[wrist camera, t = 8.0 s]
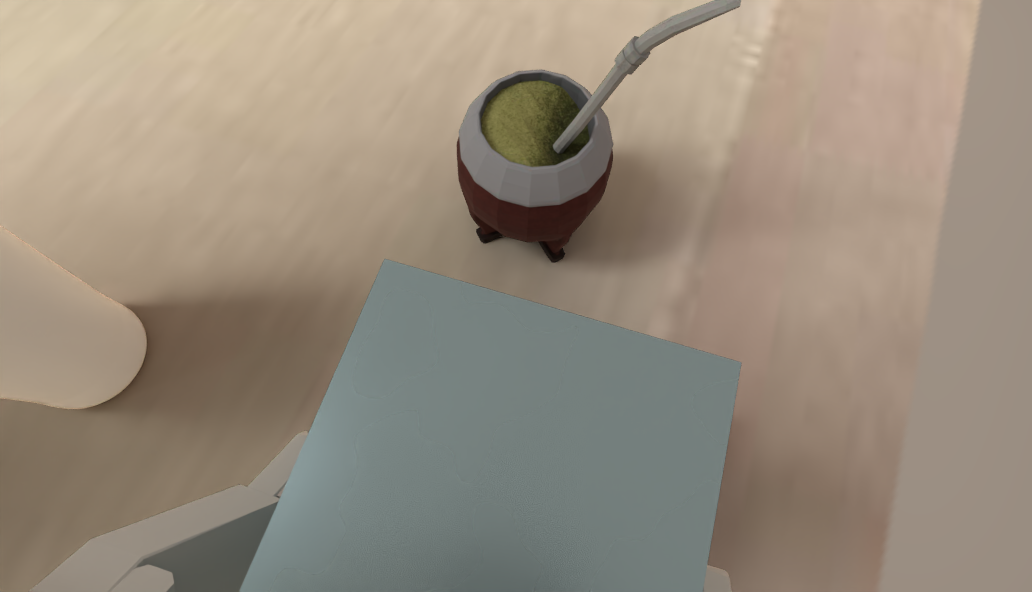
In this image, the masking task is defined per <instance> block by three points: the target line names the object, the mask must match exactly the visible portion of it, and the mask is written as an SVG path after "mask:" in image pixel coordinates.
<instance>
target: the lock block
mask: <svg viewBox="0 0 1032 592" xmlns="http://www.w3.org/2000/svg"><path fill="white" fill-rule="evenodd" d="M741 363H742V362H738V361H735V360H731V359H728V358H725V357H721V356H718V355H714V354H711V353H707V352H704V351H700V350H697V349H694V348H690V347H687V346H683V345H680V344H676V343H673V342H669V341H666V340H663V339H659V338H656V337H652V336H649V335H645V334H642V333H639V332H635V331H632V330H628V329H625V328H621V327H618V326H614V325H611V324H608V323H604V322H601V321H597V320H594V319H590V318H587V317H583V316H580V315H577V314H573V313H570V312H566V311H563V310H559V309H556V308H553V307H549V306H546V305H542V304H539V303H535V302H532V301H528V300H525V299H522V298H518V297H515V296H511V295H508V294H504V293H501V292H497V291H494V290H491V289H487V288H484V287H480V286H477V285H473V284H470V283H467V282H463V281H460V280H456V279H453V278H449V277H446V276H442V275H439V274H436V273H432V272H429V271H425V270H422V269H418V268H415V267H411V266H408V265H405V264H401V263H398V262H394V261H391V260H387V259H384V261H383V263H382V266H381V268H380V270H379V273H378V275H377V277H376V279H375V282H374V284H373V286H372V289H371V291H370V293H369V295H368V298H367V300H366V302H365V305H364V307H363V309H362V312H361V314H360V316H359V318H358V321H357V323H356V325H355V328H354V330H353V332H352V334H351V337H350V339H349V341H348V344H347V346H346V348H345V350H344V353H343V355H342V357H341V360H340V362H339V364H338V366H337V369H336V371H335V373H334V376H333V378H332V380H331V382H330V385H329V387H328V389H327V392H326V394H325V396H324V398H323V401H322V403H321V405H320V408H319V410H318V412H317V414H316V417H315V419H314V421H313V424H312V426H311V428H310V431H309V433H308V435H307V437H306V440H305V442H304V444H303V447H302V449H301V451H300V453H299V456H298V458H297V460H296V463H295V465H294V467H293V469H292V472H291V474H290V476H289V479H288V481H287V483H286V485H285V488H284V490H283V492H282V495H281V497H280V499H279V501H278V504H277V506H276V508H275V511H274V513H273V515H272V517H271V520H270V522H269V524H268V527H267V529H266V531H265V533H264V536H263V538H262V540H261V543H260V545H259V547H258V550H257V552H256V554H255V556H254V559H253V561H252V563H251V566H250V568H249V570H248V572H247V575H246V577H245V579H244V582H243V584H242V586H241V588H240V591H239V592H703V587H704V581H705V576H706V570H707V564H708V558H709V552H710V546H711V540H712V534H713V528H714V522H715V516H716V510H717V505H718V499H719V493H720V487H721V481H722V475H723V469H724V463H725V457H726V451H727V445H728V439H729V434H730V428H731V422H732V416H733V410H734V404H735V398H736V392H737V386H738V380H739V374H740V368H741Z"/></svg>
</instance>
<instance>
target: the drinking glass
mask: <svg viewBox="0 0 1032 592" xmlns="http://www.w3.org/2000/svg"><path fill="white" fill-rule="evenodd" d="M146 349H147V338H146V333H145V329H144V327H143V325H142V323H141V321H140V320H139V318H138V317H137V316H136V315H135V314H134V313H133V312H132V311H131V310H130V309H128V308H127V307H125V306H124V305H122V304H120V303H118V302H116V301H114V300H112V299H111V298H109V297H107V296H105V295H103V294H102V293H100V292H99V291H97V290H95V289H94V288H92V287H91V286H89V285H88V284H86V283H85V282H83V281H82V280H80V279H79V278H77V277H76V276H74V275H73V274H72V273H70V272H69V271H67V270H66V269H64V268H63V267H61V266H60V265H58V264H57V263H55V262H54V261H52V260H51V259H49V258H48V257H46V256H45V255H43V254H42V253H40V252H39V251H38V250H36V249H35V248H33V247H32V246H30V245H29V244H27V243H26V242H24V241H23V240H21V239H20V238H19V237H17V236H16V235H14V234H13V233H11V232H10V231H8V230H7V229H5V228H4V227H2V226H1V225H0V398H1V399H9V400H17V401H25V402H33V403H38V404H42V405H47V406H52V407H56V408H62V409H82V408H88V407H92V406H95V405H98V404H101V403H103V402H106V401H107V400H109V399H111V398H113V397H114V396H116V395H117V394H119V393H120V392H121V391H123V390H124V389H125V388H126V387H127V386H128V385H129V384H130V383H131V382H132V380H133V379H134V378H135V376H136V375H137V374H138V372H139V370H140V368H141V366H142V364H143V361H144V359H145V355H146Z"/></svg>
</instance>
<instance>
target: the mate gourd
mask: <svg viewBox="0 0 1032 592" xmlns="http://www.w3.org/2000/svg"><path fill="white" fill-rule="evenodd" d="M740 3H741V0H714V1H711V2H709V3H706V4H703V5H701V6H698V7H696V8H693V9H690V10H688V11H685V12H683V13H680V14H677V15H675V16H672V17H670V18H668V19H667V20H665V21H663V22H661V23H660V24H658V25H656V26H654V27H653V28H651V29H649V30H647V31H646V32H645V33H644V34H642V35H641V36H640V37H636V36H634V37H633V38H632V40H631V41H630V42H629V43H628V44H627V45H626V46H625V47H624V48H623V50H622V51H621V52H620V53H619V54H618V56H617V57H616V59H615V63H616V64H615V65H614V67H613V68H612V69H611V71H610V72H609V73H608V75H607V76H606V78H605V79H604V80H603V82H602V83H601V84H600V86H599V87H598V88H597V90H596V91H595V92H594V94H593V95H591V94H590V92H589V91H588V90H587V89H586V88H585V87H583V86H581V85H580V84H578V83H577V82H575V81H573V80H572V79H570V78H569V77H567V76H565V75H562V74H558V73H554V72H549V71H545V70H530V71H518V72H515V73H513V74H511V75H508V76H506V77H503V78H501V79H499V80H496V81H495V82H493V83H492V84H491V85H490V86H489V87H488V88H487V89H486V90H485V91H483V92H482V93H481V94H480V95H479V96H478V97H477V98H476V99H475V100H474V101H473V102H472V104H471V105H470V106H469V108H468V110H467V113H466V115H465V118H464V120H463V123H462V125H461V128H460V130H459V138H458V141H457V162H458V176H459V182H460V186H461V189H462V192H463V195H464V197H465V200H466V203H467V206H468V209H469V212H470V215H471V217H472V218H473V220H474V221H475V222H476V224H477V225H478V226H479V227H480V228H478V229H476V232H477V234H478V236H479V238H480V240H481V242H483V243H487V242H489V241H492V240H494V239H496V238H498V237H500V236H503V235H504V236H507V237H510V238H514V239H518V240H521V241H525V242H539V243H540V245H541V246H542V248H543V250H544V251H545V253H546V255H547V256H548V258H549V259H550V260H551V262H557V261H559V260H561V259H562V258H563V257H564V255H565V252H564V250H563V248H562V247H563V246H565V244H566V243H567V242H568V241H569V239H570V237H571V235H572V233H573V232H574V231H575V230H576V229H577V228H578V227H579V226H580V225H581V223H582V222H583V221H584V220H585V218H586V217H587V216H588V214H589V213H590V212H591V211H592V210H593V208H594V207H595V206H596V205H597V204H598V202H599V201H600V200H601V198H602V196H603V194H604V191H605V188H606V185H607V181H608V178H609V174H610V171H611V167H612V161H613V152H612V147H613V142H612V136H611V131H610V126H609V121H608V118H607V116H606V114H605V113H604V111H603V110H602V109H601V106H602V105H603V104H604V103H605V101H606V100H607V99H608V98H609V96H610V95H611V94H612V93H613V91H614V90H615V89H616V88H617V86H618V85H619V84H620V83H621V81H622V80H623V79H624V78H625V76H626V75H627V74H632V73H633V72H634V71H635V70H636V69H637V68H638V67H639V65H641V64H642V63H643V62H644V61H645V60H646V59H647V58H648V56H649V54H650V51H651V50H652V49H653V48H654V47H656V46H658V45H659V44H661V43H663V42H665V41H666V40H668V39H670V38H671V37H673V36H675V35H677V34H679V33H681V32H684V31H686V30H688V29H690V28H693V27H695V26H697V25H699V24H702V23H704V22H706V21H708V20H711V19H713V18H715V17H717V16H720V15H722V14H724V13H727V12H729V11H731V10H733V9H736V8H738V7H740Z"/></svg>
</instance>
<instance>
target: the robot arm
mask: <svg viewBox="0 0 1032 592" xmlns="http://www.w3.org/2000/svg"><path fill="white" fill-rule="evenodd" d="M308 433H309V432H307V431H303V432H300V433H298V434H297V435H296V436H295V437H294V438H293V439H292V440H291V441H290V442H289V443H288V444H287V445H286V446H285V447H284V448H283V449H282V450H281V451H280V452H279V454H278V455H277V456H276V457H275V458H274V459H273V460H272V461H271V462H270V463H269V464H268V465H267V466H266V467H265V468H264V469H263V470H262V471H261V472H260V474H259V475H258V476H257V477H256V478H255V479H254V480H253V481H252V482H251V483H250V484H249V485H248V486H247V487H246V486H243V485H240V484H239V485H236V486H234V487H231V488H228V489H225V490H223V491H220V492H217V493H215V494H212V495H209V496H206V497H204V498H201V499H198V500H196V501H193V502H190V503H187V504H185V505H182V506H179V507H176V508H174V509H171V510H168V511H166V512H163V513H160V514H157V515H155V516H152V517H149V518H147V519H144V520H141V521H138V522H136V523H133V524H130V525H128V526H125V527H122V528H119V529H117V530H114V531H111V532H109V533H106V534H103V535H100V536H98V537H95V538H92V539H90V540H89V541H88V542H86V543H85V544H84V545H83V546H82V547H80V548H79V549H78V550H77V551H76V552H75V553H73V554H72V555H71V556H70V557H69V558H67V559H66V560H65V561H64V562H63V563H62V564H60V565H59V566H58V567H57V568H56V569H55V570H53V571H52V572H51V573H50V574H49V575H47V576H46V577H45V578H44V579H43V580H42V581H40V582H39V583H38V584H37V585H36V586H34V587H33V588H32V589H31V590H30V591H29V592H239V591H240V588H241V586H242V584H243V582H244V579H245V577H246V575H247V572H248V570H249V568H250V566H251V563H252V561H253V559H254V556H255V554H256V552H257V550H258V547H259V545H260V543H261V540H262V538H263V536H264V533H265V531H266V529H267V527H268V524H269V522H270V520H271V517H272V515H273V513H274V511H275V508H276V506H277V504H278V501H279V499H280V497H281V495H282V492H283V490H284V488H285V485H286V483H287V481H288V479H289V476H290V474H291V472H292V469H293V467H294V465H295V463H296V460H297V458H298V456H299V453H300V451H301V449H302V447H303V444H304V442H305V440H306V437H307V435H308ZM703 592H732V588H731V582H730V577H729V575H728V573H727V572H726V570H723V569H720V568H717V567H713V566H710V565H707V570H706V576H705V581H704V587H703Z"/></svg>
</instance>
